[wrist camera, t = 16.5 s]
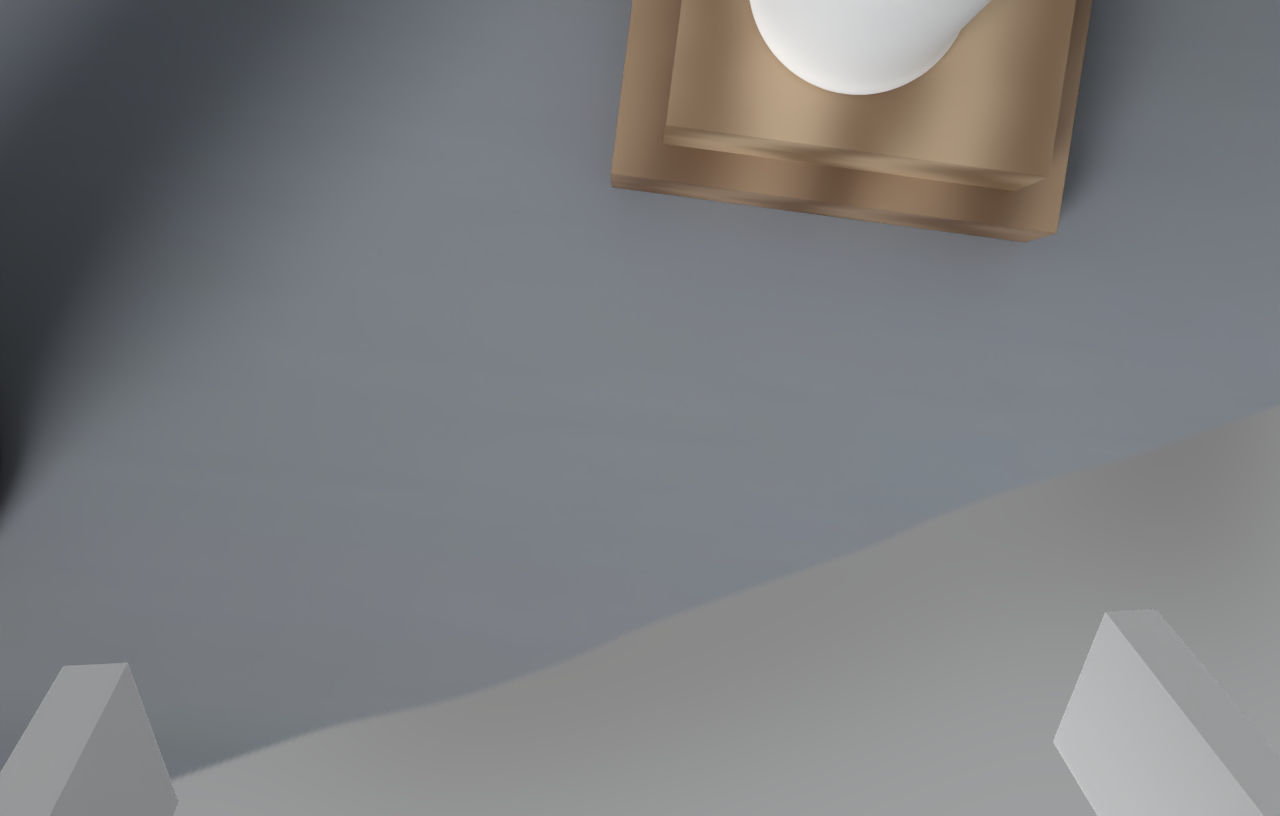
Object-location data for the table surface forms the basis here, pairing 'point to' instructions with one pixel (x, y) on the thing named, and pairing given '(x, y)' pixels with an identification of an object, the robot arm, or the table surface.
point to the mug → (861, 39)
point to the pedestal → (856, 121)
